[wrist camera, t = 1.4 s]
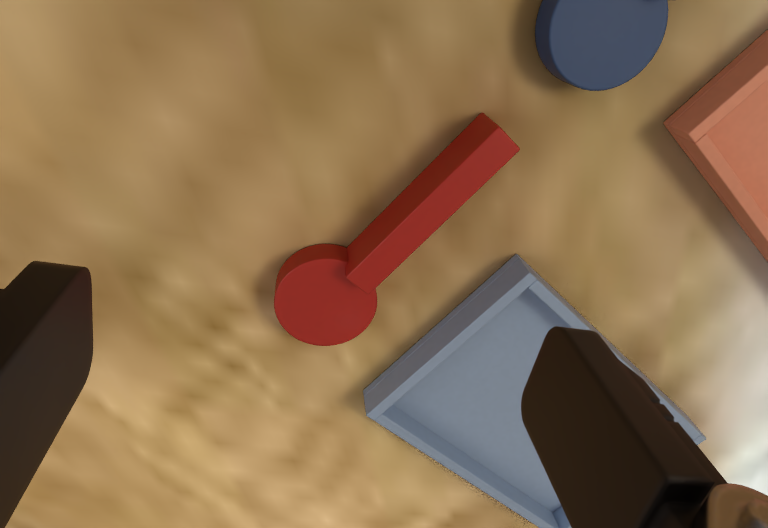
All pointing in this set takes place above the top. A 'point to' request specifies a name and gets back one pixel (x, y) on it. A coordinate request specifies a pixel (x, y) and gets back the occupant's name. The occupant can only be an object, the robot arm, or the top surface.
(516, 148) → the red spoon
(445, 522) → the top surface
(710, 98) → the red tray
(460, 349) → the blue tray
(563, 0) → the blue spoon
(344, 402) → the top surface
